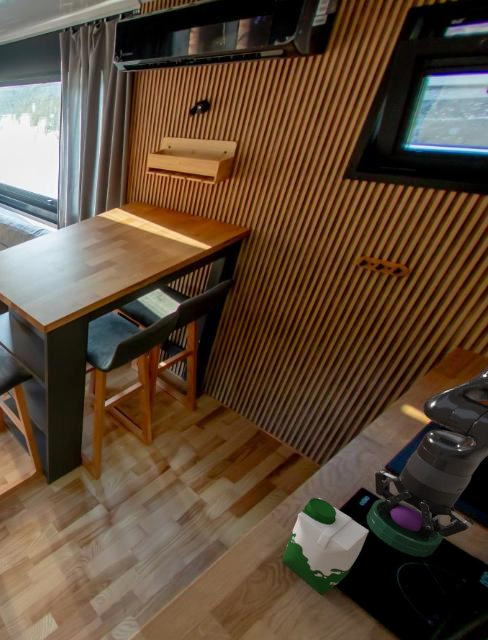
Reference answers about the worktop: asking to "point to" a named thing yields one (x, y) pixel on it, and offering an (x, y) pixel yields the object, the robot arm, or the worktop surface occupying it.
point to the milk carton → (323, 545)
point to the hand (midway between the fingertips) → (404, 523)
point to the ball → (407, 517)
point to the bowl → (400, 533)
